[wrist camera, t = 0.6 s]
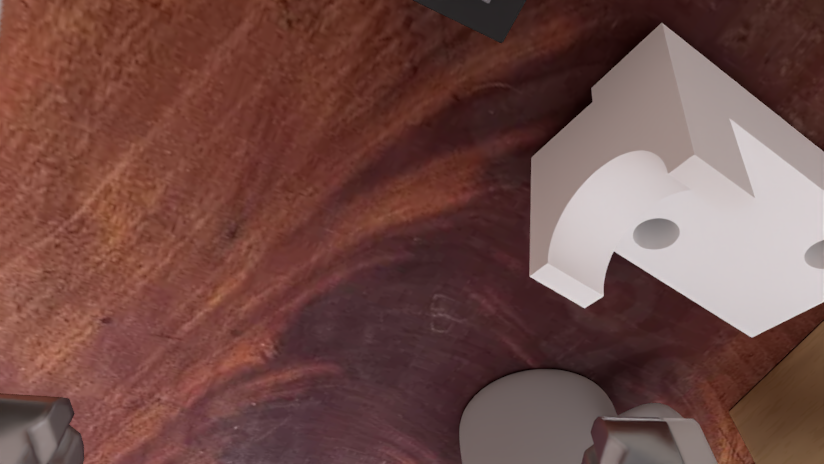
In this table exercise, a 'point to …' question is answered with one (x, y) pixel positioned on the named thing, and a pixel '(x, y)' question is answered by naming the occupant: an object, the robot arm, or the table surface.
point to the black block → (480, 14)
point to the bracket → (682, 191)
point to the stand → (787, 408)
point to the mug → (538, 418)
